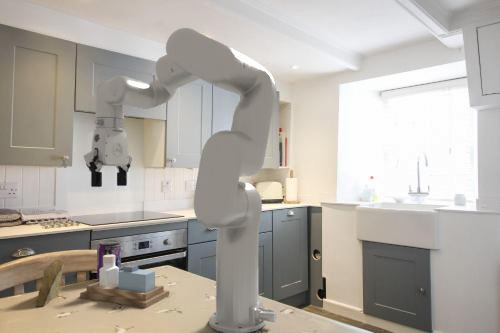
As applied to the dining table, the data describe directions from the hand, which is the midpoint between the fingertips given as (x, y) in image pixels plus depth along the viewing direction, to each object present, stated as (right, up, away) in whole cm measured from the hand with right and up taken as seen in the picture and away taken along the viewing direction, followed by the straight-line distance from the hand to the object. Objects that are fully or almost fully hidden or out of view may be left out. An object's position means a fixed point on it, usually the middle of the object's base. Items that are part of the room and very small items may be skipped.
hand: (109, 186), depth 102 cm
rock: (-15, -30, -5) cm, 34 cm away
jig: (+5, -30, -3) cm, 31 cm away
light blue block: (+9, -29, -4) cm, 31 cm away
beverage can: (-5, -31, +13) cm, 34 cm away
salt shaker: (0, -29, -1) cm, 29 cm away
